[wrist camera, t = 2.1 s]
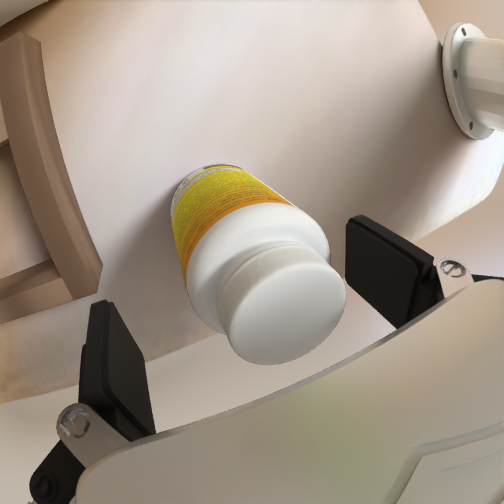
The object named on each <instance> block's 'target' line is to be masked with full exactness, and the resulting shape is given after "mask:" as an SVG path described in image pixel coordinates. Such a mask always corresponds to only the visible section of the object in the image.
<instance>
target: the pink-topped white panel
mask: <svg viewBox="0 0 504 504" xmlns="http://www.w3.org/2000/svg"><path fill="white" fill-rule="evenodd" d="M47 1H49V0H0V27H1V26H2V25H4V24H6V23H7V22H9V21H11V20H12V19H14V18H16V17H18V16H19V15H21V14H23V13H25V12H27V11H29V10H30V9H32V8H34V7H36V6H38V5H40V4H42V3H44V2H47Z"/></svg>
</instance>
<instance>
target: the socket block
mask: <svg viewBox="0 0 504 504" xmlns="http://www.w3.org/2000/svg"><path fill="white" fill-rule="evenodd" d="M9 143H10V147H11V151H12V155H13V158H14V162H15V165H16V169H17V172H18V175H19V178H20V181H21V184H22V187H23V190H24V193H25V196H26V199H27V201H28V204H29V207H30V209H31V212H32V214H33V217H34V219H35V222H36V224H37V227H38V229H39V231H40V234H41V236H42V238H43V241H44V243H45V245H46V247H47V249H48V251H49V254H50V256H51V258H52V259H51V260H48V261H45V262H43V263H40V264H38V265H35V266H33V267H30V268H28V269H25V270H23V271H20V272H18V273H15V274H13V275H10V276H8V277H6V278H3V279H1V280H0V324H2V323H5V322H8V321H11V320H14V319H17V318H21V317H24V316H27V315H30V314H33V313H36V312H39V311H42V310H45V309H48V308H51V307H55V306H58V305H61V304H64V303H67V302H70V301H73V300H76V299H80V298H83V297H86V296H89V295H92V294H95V293H97V290H98V285H99V280H100V275H101V270H102V266H103V264H102V262H101V260H100V258H99V255H98V253H97V251H96V248H95V246H94V244H93V241H92V239H91V236H90V234H89V231H88V229H87V226H86V224H85V221H84V219H83V216H82V213H81V211H80V208H79V205H78V203H77V200H76V197H75V194H74V191H73V188H72V185H71V182H70V179H69V176H68V173H67V170H66V166H65V163H64V160H63V156H62V153H61V149H60V145H59V142H58V138H57V134H56V130H55V126H54V121H53V117H52V113H51V108H50V103H49V98H48V93H47V87H46V81H45V75H44V68H43V61H42V53H41V43H40V42H39V41H37V40H36V39H34V38H32V37H30V36H28V35H26V34H25V33H23V32H21V31H19V32H17V33H16V34H14V35H12V36H11V37H9V38H7V39H6V40H4V41H2V42H1V43H0V149H1V148H2V147H4V146H6V145H8V144H9Z"/></svg>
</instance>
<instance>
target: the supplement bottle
mask: <svg viewBox="0 0 504 504" xmlns="http://www.w3.org/2000/svg"><path fill="white" fill-rule="evenodd" d="M170 217H171V225H172V229H173V234H174V238H175V243H176V248H177V252H178V257H179V260H180V264H181V268H182V272H183V277H184V281H185V286H186V289H187V293H188V296H189V298H190V301H191V304H192V306H193V308H194V310H195V312H196V313H197V315H198V316H199V317H200V318H201V320H202V321H203V322H204V323H206V324H207V325H208V326H209V327H211V328H212V329H214V330H216V331H218V332H220V333H222V334H225V335H227V337H228V340H229V342H230V345H231V346H232V348H233V350H234V351H235V352H236V353H237V354H238V355H239V356H240V357H241V358H243V359H245V360H247V361H249V362H252V363H255V364H261V365H274V364H281V363H285V362H288V361H291V360H294V359H297V358H299V357H301V356H303V355H305V354H307V353H308V352H310V351H311V350H313V349H314V348H315V347H317V346H318V345H319V344H321V343H322V342H323V341H324V340H325V339H326V338H327V337H328V336H329V334H330V333H331V332H332V331H333V329H334V328H335V327H336V325H337V323H338V322H339V320H340V318H341V316H342V314H343V311H344V307H345V302H346V291H345V285H344V282H343V280H342V279H341V277H340V275H339V274H338V273H337V272H336V271H335V270H334V269H333V268H332V267H331V266H330V261H331V259H330V249H329V244H328V241H327V238H326V236H325V234H324V232H323V231H322V229H321V227H320V226H319V225H318V224H317V223H316V221H315V220H314V219H312V218H311V217H310V216H309V215H307V214H306V213H305V212H303V211H302V210H301V209H299V208H298V207H297V206H295V205H294V204H292V203H291V202H290V201H288V200H287V199H285V198H284V197H283V196H281V195H280V194H279V193H277V192H276V191H274V190H273V189H272V188H270V187H269V186H268V185H266V184H265V183H263V182H262V181H260V180H259V179H257V178H256V177H254V176H253V175H251V174H250V173H249V172H247V171H245V170H244V169H242V168H240V167H237V166H234V165H229V164H212V165H207V166H204V167H202V168H199V169H197V170H196V171H194V172H192V173H191V174H190V175H188V176H187V177H186V178H185V179H184V180H183V181H182V183H181V184H180V185H179V187H178V188H177V190H176V192H175V194H174V196H173V199H172V203H171V210H170Z"/></svg>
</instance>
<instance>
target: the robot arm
mask: <svg viewBox="0 0 504 504" xmlns="http://www.w3.org/2000/svg"><path fill="white" fill-rule="evenodd" d="M442 66H443V78H444V84H445V90H446V94H447V98H448V102H449V105H450V108H451V111H452V114H453V116H454V118H455V120H456V122H457V124H458V125H459V127H460V129H461V130H462V131H463V132H464V133H465V134H466V135H468V136H469V137H471V138H475V139H478V140H484V139H486V138H488V137H489V136H490V135H491V134H492V133H493V131H494V130H498V131H501V132H504V40H503V39H494V38H486V36H485V35H484V34H483V33H482V32H481V31H480V30H479V28H477V27H476V26H474V25H473V24H470V23H455V24H454V25H452V26H451V27H450V28H449V30H448V32H447V34H446V37H445V40H444V45H443V54H442ZM433 260H434V257H433V256H431V255H429V254H428V253H427V252H425V251H424V250H422V249H420V248H419V247H417V246H415V245H414V244H412V243H411V242H409V241H407V240H406V239H404V238H402V237H401V236H399V235H397V234H396V233H394V232H392V231H390V230H389V229H387V228H385V227H384V226H382V225H380V224H378V223H377V222H375V221H373V220H371V219H369V218H368V217H366V216H364V215H359V216H356V217H353V218H350V219H349V221H348V223H347V224H346V258H345V279H346V282H347V284H348V285H349V286H350V287H352V289H354V290H355V291H356V292H357V293H358V294H359V295H360V296H361V297H362V298H364V299H365V300H366V301H367V302H368V303H369V304H370V305H371V306H372V307H373V308H375V309H376V310H377V311H378V312H379V313H380V314H381V315H382V316H383V317H384V318H385V319H386V320H387V321H389V322H390V323H391V324H392V325H393V326H394V327H395V328H396V329H397V330H395V331H394V332H392V333H390V334H389V335H387V336H385V337H384V338H382V339H380V340H379V341H377V342H375V343H373V344H372V345H370V346H368V347H366V348H364V349H363V350H361V351H359V352H357V353H355V354H354V355H352V356H350V357H348V358H346V359H344V360H342V361H340V362H338V363H336V364H335V365H333V366H331V367H329V368H327V369H325V370H323V371H321V372H319V373H317V374H314V375H312V376H310V377H308V378H306V379H304V380H302V381H299V382H297V383H295V384H293V385H290V386H288V387H286V388H284V389H281V390H279V391H277V392H274V393H272V394H270V395H267V396H265V397H263V398H260V399H257V400H255V401H252V402H250V403H247V404H245V405H242V406H239V407H236V408H234V409H231V410H228V411H225V412H223V413H219V414H217V415H214V416H211V417H208V418H205V419H202V420H200V421H196V422H193V423H190V424H187V425H183V426H180V427H177V428H174V429H170V430H166V431H163V432H160V433H157V434H156V430H155V425H154V419H153V414H152V408H151V403H150V397H149V391H148V384H147V377H146V370H145V362H144V357H143V355H142V352H141V351H140V349H139V347H138V346H137V344H136V342H135V341H134V339H133V337H132V336H131V334H130V332H129V330H128V329H127V327H126V325H125V323H124V322H123V320H122V318H121V316H120V314H119V312H118V311H117V309H116V307H115V305H114V303H113V302H109V303H108V301H107V300H102V301H99V302H96V303H93V304H91V308H90V315H89V322H88V330H87V338H86V344H84V345H83V347H82V354H81V365H80V378H79V397H78V403H75V404H72V405H70V406H68V407H66V408H65V409H64V410H63V411H62V413H61V414H60V415H59V417H58V420H57V426H56V429H57V433H58V435H59V437H60V440H59V442H58V443H57V444H56V445H55V447H54V448H53V449H52V450H51V452H50V453H49V454H48V455H47V457H46V458H45V459H44V460H43V462H42V463H41V464H40V465H39V467H38V468H37V469H36V471H35V472H34V473H33V475H32V477H31V479H30V484H29V486H30V493H31V496H32V498H33V502H32V503H31V502H28V504H504V278H503V277H493V276H483V275H473V274H471V273H470V271H469V269H468V267H467V266H466V265H465V264H464V263H463V262H461V261H459V260H456V259H452V258H444V259H441V260H440V261H438V262H437V264H436V267H435V266H434V265H433Z"/></svg>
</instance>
